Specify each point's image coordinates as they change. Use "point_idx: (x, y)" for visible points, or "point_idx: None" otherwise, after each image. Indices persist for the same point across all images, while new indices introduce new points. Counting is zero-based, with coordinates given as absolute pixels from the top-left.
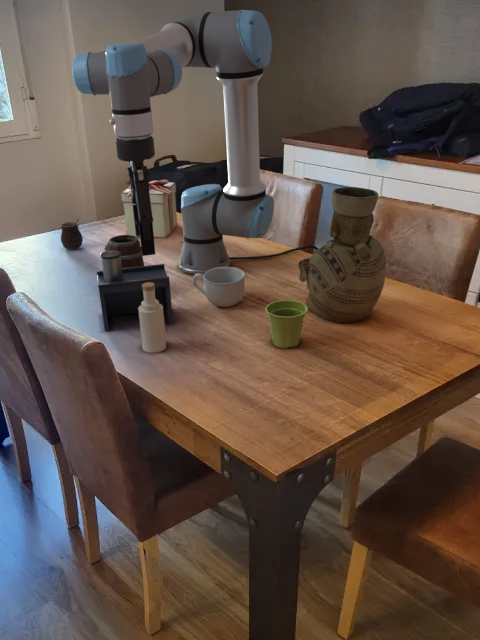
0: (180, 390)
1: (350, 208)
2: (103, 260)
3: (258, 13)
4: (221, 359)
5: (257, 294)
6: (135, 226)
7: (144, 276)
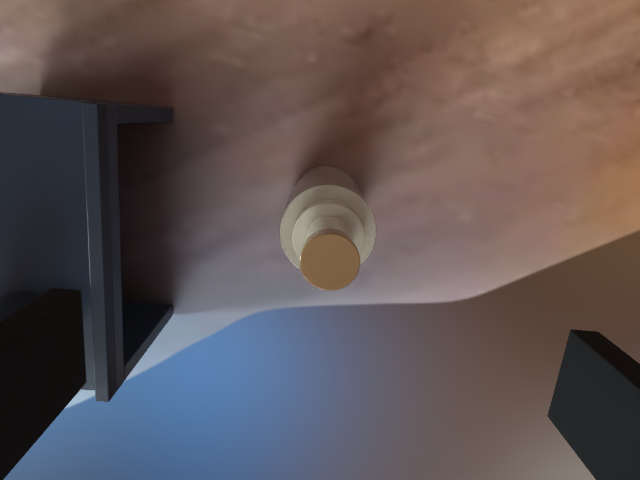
0: (597, 188)
1: None
2: None
3: None
4: (482, 22)
5: None
6: (41, 430)
7: (13, 201)
